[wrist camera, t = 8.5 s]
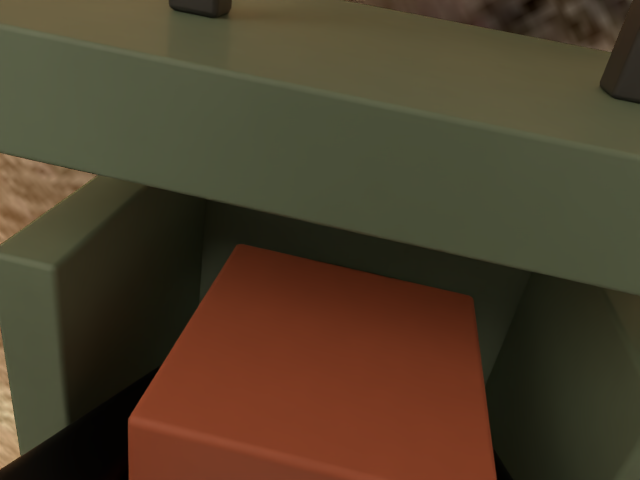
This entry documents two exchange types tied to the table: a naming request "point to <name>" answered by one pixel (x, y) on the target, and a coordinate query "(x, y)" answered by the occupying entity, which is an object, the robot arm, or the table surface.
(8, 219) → the table surface
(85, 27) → the drawer
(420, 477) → the block
